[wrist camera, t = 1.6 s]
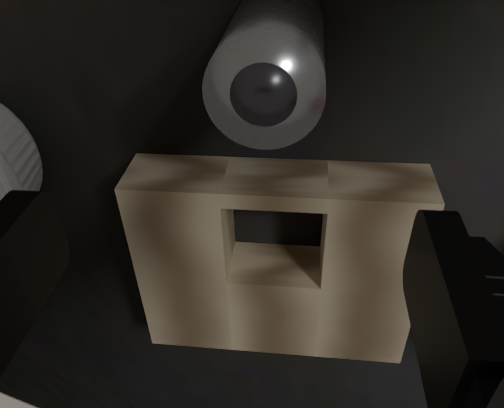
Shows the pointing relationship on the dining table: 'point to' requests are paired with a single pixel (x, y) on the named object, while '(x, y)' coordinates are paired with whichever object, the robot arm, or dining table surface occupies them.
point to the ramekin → (17, 156)
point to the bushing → (268, 73)
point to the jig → (274, 253)
